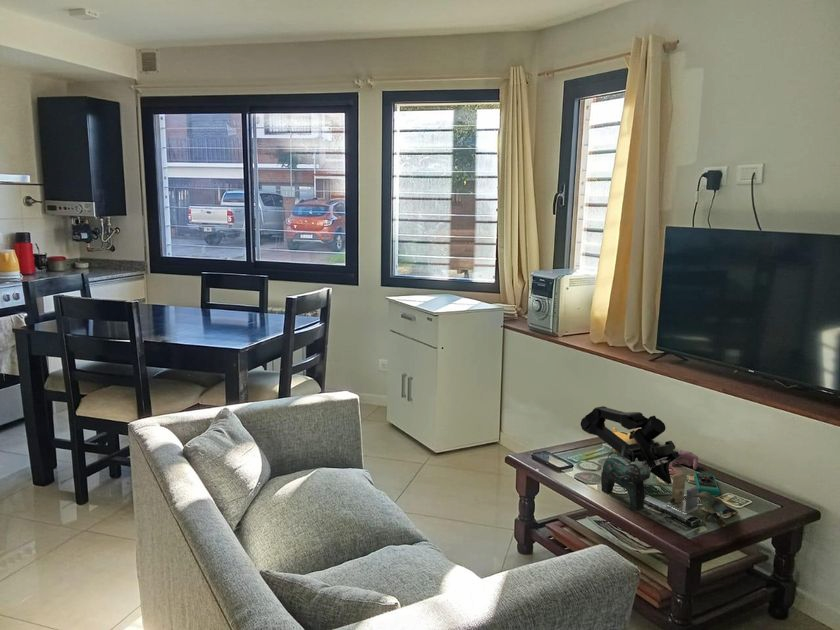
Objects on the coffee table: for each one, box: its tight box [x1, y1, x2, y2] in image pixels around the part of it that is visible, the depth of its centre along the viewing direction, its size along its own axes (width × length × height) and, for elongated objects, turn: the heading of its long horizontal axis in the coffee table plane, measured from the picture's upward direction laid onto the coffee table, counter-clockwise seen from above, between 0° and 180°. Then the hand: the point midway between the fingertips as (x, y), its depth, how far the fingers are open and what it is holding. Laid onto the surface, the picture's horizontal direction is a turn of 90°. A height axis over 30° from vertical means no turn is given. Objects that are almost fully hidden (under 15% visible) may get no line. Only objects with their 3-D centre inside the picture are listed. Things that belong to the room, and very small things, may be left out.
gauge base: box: [666, 486, 699, 514], centre depth 223 cm, size 7×7×8 cm
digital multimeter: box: [693, 472, 721, 497], centre depth 240 cm, size 7×15×3 cm, turn 163°
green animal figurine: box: [600, 449, 652, 512], centre depth 227 cm, size 20×6×20 cm, turn 26°
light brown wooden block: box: [669, 471, 687, 503], centre depth 224 cm, size 2×6×10 cm, turn 122°
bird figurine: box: [692, 491, 737, 528], centre depth 214 cm, size 13×10×20 cm
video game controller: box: [670, 450, 699, 471], centre depth 258 cm, size 10×5×7 cm, turn 58°
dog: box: [612, 426, 639, 453], centre depth 267 cm, size 8×20×13 cm, turn 28°
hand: (670, 483), depth 227 cm, fingers closed
